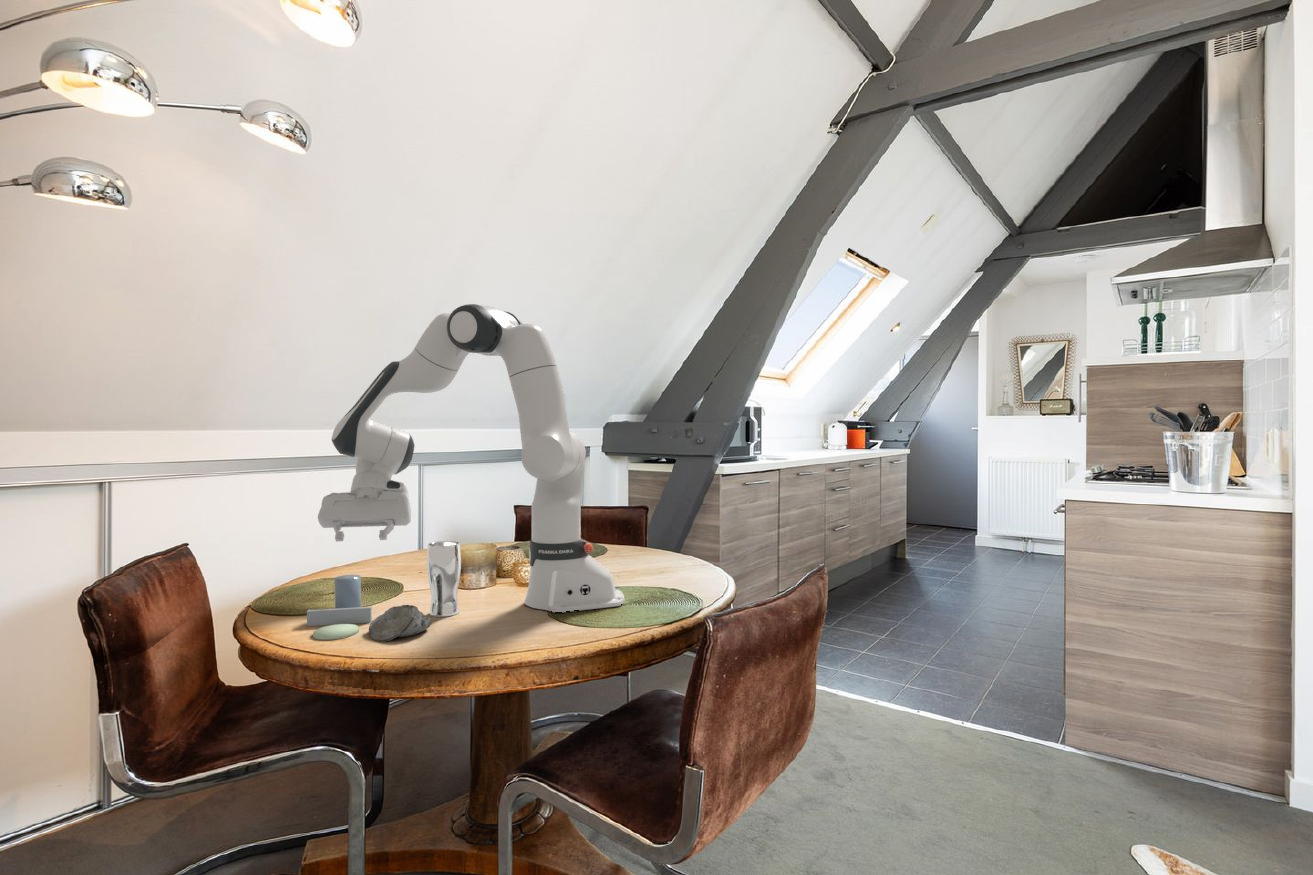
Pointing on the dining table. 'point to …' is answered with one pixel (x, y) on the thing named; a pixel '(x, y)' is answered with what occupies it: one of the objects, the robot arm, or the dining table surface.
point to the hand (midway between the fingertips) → (360, 539)
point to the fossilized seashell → (398, 623)
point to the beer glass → (444, 577)
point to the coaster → (335, 632)
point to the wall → (339, 616)
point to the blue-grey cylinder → (348, 591)
